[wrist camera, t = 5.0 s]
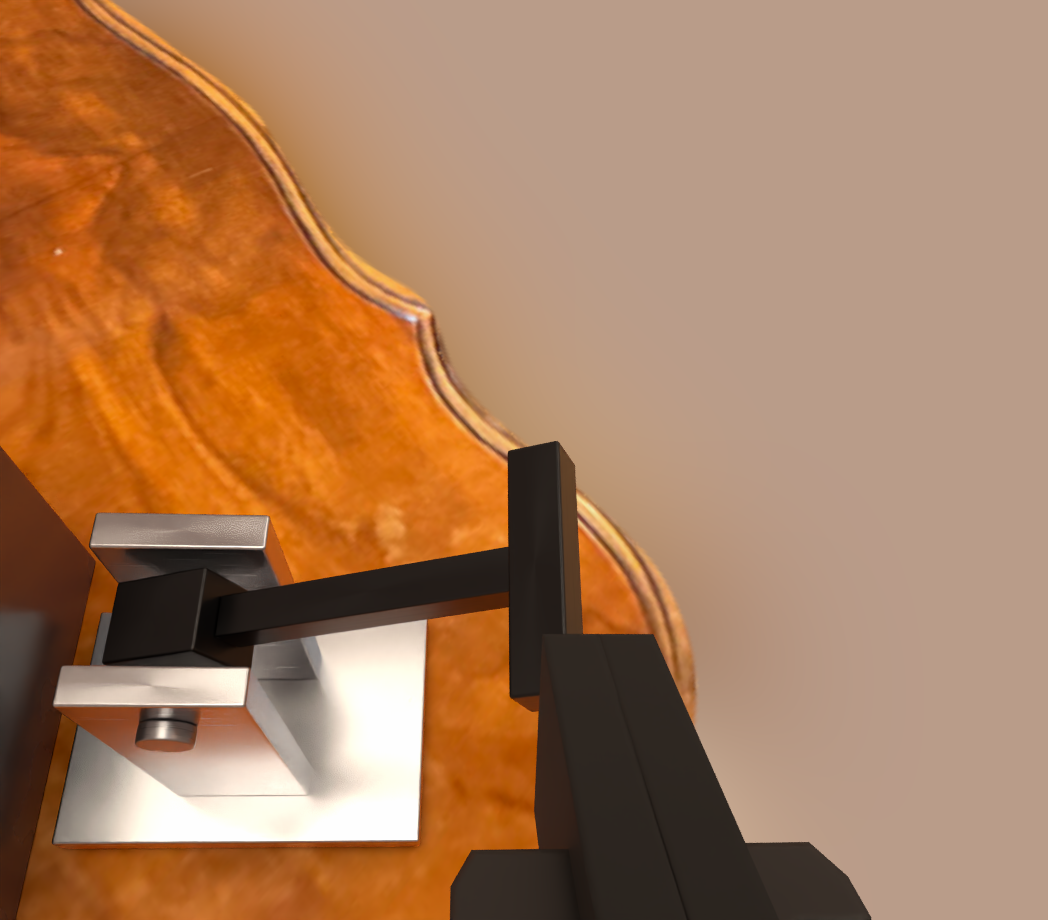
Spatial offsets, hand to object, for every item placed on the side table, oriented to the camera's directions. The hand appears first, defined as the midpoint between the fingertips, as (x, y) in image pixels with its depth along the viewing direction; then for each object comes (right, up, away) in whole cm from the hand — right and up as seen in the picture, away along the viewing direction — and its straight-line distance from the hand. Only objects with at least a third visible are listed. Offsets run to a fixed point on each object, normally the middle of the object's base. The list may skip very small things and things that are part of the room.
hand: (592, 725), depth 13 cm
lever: (-5, -1, +11) cm, 12 cm away
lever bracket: (-11, -6, +21) cm, 25 cm away
